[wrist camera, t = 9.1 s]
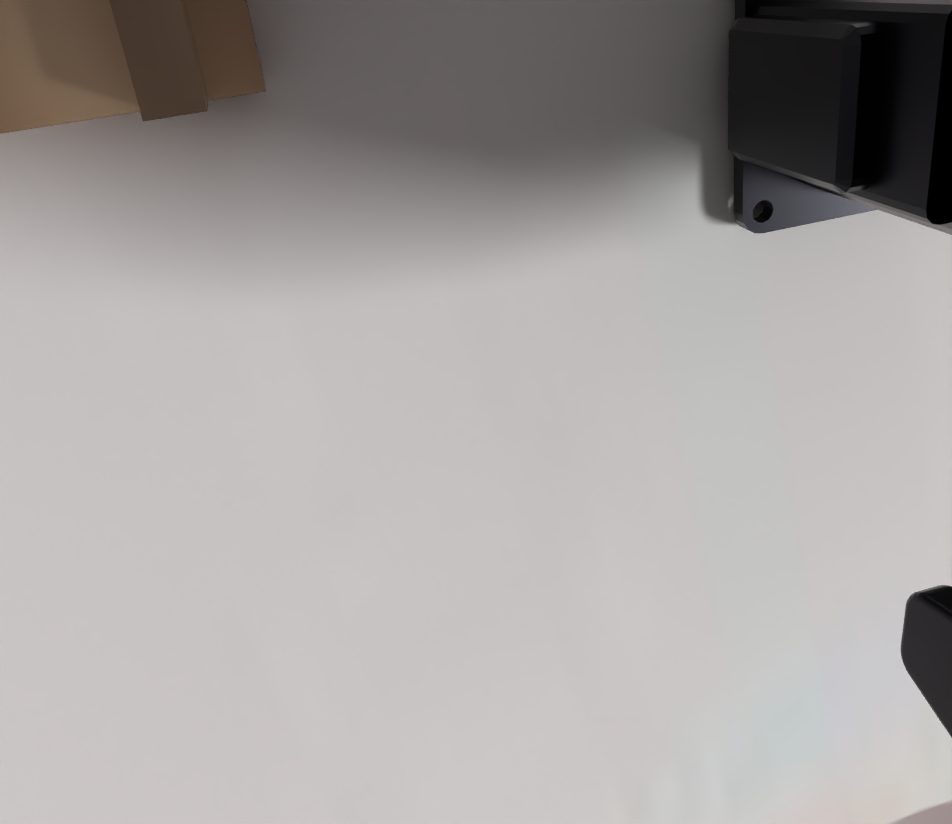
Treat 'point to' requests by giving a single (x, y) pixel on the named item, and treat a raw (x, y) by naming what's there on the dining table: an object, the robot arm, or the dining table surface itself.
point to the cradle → (121, 58)
